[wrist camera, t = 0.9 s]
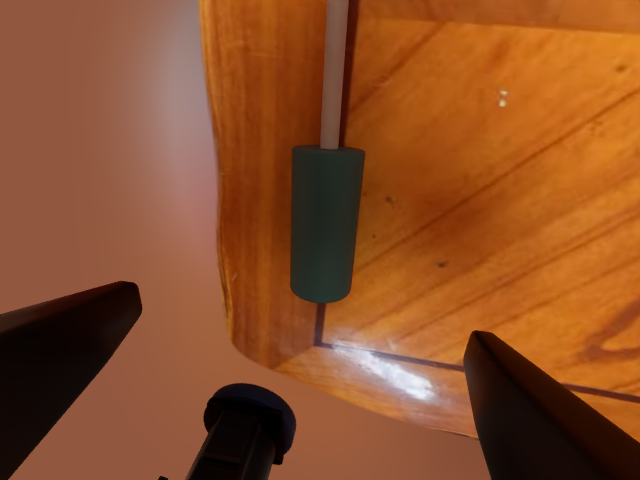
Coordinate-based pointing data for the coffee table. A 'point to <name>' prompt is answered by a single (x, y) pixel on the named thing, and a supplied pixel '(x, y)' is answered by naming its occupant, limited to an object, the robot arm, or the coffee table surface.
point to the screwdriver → (326, 187)
